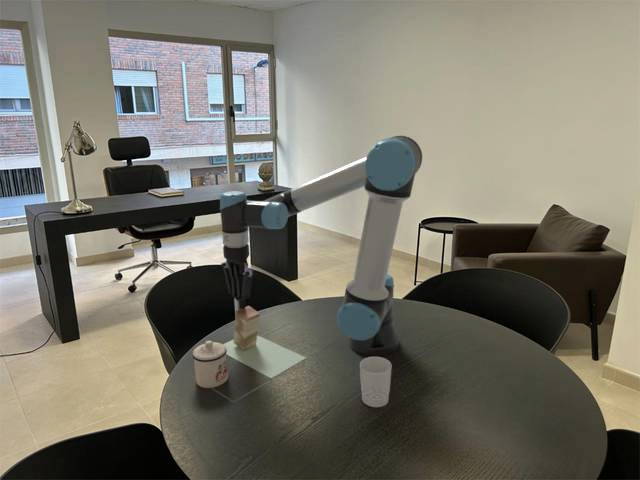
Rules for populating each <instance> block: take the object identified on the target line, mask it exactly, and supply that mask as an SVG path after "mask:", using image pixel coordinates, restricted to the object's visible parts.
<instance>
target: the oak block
mask: <svg viewBox="0 0 640 480" xmlns="http://www.w3.org/2000/svg"><path fill="white" fill-rule="evenodd" d="M234 319H235V321H234V332H233V339H234V342H233V343H234V344H235V345H236V346H238V347H239V348H240V349H241V350H243V351H245V350H247V349H249V348H251V347H253V346H255V345H256V342H257V335H258V332H259V331H258V330H259V321H260V320H259V319H260V313H259V312H258V311H257V310H256V309H254V308H253V307H252V306H250V305H247V306H245V308H243V309H240V310H237V311H236V316H235V318H234Z"/></svg>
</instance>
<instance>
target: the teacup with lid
mask: <svg viewBox="0 0 640 480" xmlns="http://www.w3.org/2000/svg"><path fill="white" fill-rule="evenodd" d="M223 344H224V343H223ZM223 344H222V343H221V342H215V341H214V342H213V341H212V340H206V341H205V342H204V343H203V344H200V345H198V346H197V347H195V349H194V350H193V351H192V358H193V366H194V370H195V371H194V372H195V373H194V374H195V380H196V384H197V386H199V387H201V388H204V389H213V388H215V387H219V386H221V385H223V384H225V383H226V382H227V380H228V378H229V369H228V357H227V354H226V352H227V349H226V347H225V346H224V345H223Z"/></svg>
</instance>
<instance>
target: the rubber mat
mask: <svg viewBox="0 0 640 480" xmlns="http://www.w3.org/2000/svg"><path fill="white" fill-rule="evenodd" d="M233 342H234V338H233V339H231V340H229V341H227V342H225V343H223V345H224V346H225V347H226V349H227V352H226V356H229V357H230V358H232V359H234V360H235V361H237V362H240V363H242V364H244V365H245V366H248V368H250V369H253V370H255V371H257V372H258V373H260V374H262V375H263V376H266V377H268V378H269V379H270V380H271V381H272V380H273V379H275V378H276V377H278V376H280V375H282V374H283V373H285V372H287V371H288V370H290V369H291V368H293V367H295V366H297V365H300V363H302V362H304V361H306V360H307V357H306V356H304V355H301V354H299V353H297V352H295V351H292V350H290V349H288V348H286V347H284V346H282V345H279V344H277V343H275V342H273V341H271V340H269V339H267V338H264V337H262V336H260V335H258V334H257V342H256V345H255V346H253V347H251V348H249V349H247V350H245V351H243V350H241V349H240V348H239V347H238V346H236V345H235V344H234V343H233Z"/></svg>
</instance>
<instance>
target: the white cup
mask: <svg viewBox="0 0 640 480" xmlns="http://www.w3.org/2000/svg"><path fill="white" fill-rule="evenodd" d="M392 366H393V365H392V363H391V361H390V360H388V359H387V358H385V357H381V356H368V357H364V358H363V359H362V360H361V361H359V377H360V378H359V380H360V389H361V400H362V403H364V404H365V405H366V406H368V407H371V408H381V407H384V406H386V405H387V404H388V403H389V399H390V398H389V397H390V392H391V381H392Z"/></svg>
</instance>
